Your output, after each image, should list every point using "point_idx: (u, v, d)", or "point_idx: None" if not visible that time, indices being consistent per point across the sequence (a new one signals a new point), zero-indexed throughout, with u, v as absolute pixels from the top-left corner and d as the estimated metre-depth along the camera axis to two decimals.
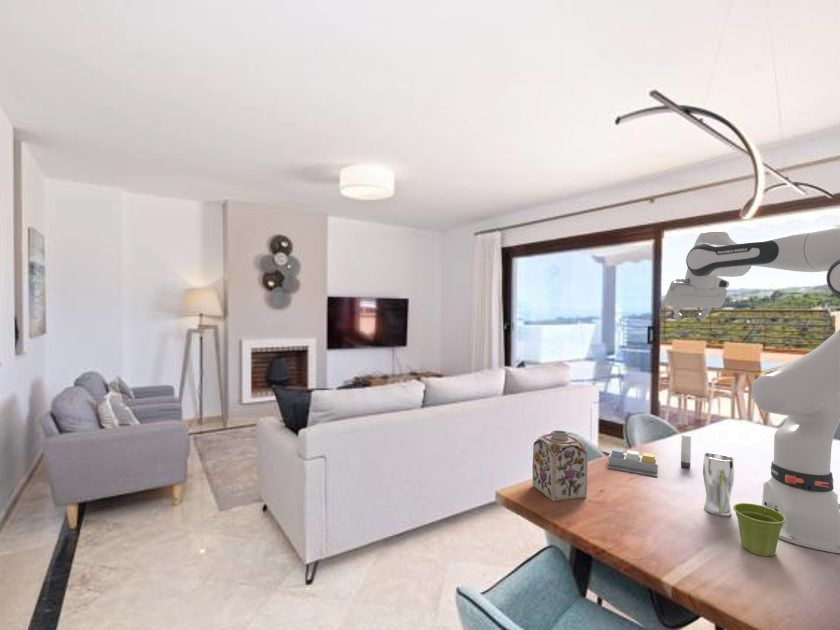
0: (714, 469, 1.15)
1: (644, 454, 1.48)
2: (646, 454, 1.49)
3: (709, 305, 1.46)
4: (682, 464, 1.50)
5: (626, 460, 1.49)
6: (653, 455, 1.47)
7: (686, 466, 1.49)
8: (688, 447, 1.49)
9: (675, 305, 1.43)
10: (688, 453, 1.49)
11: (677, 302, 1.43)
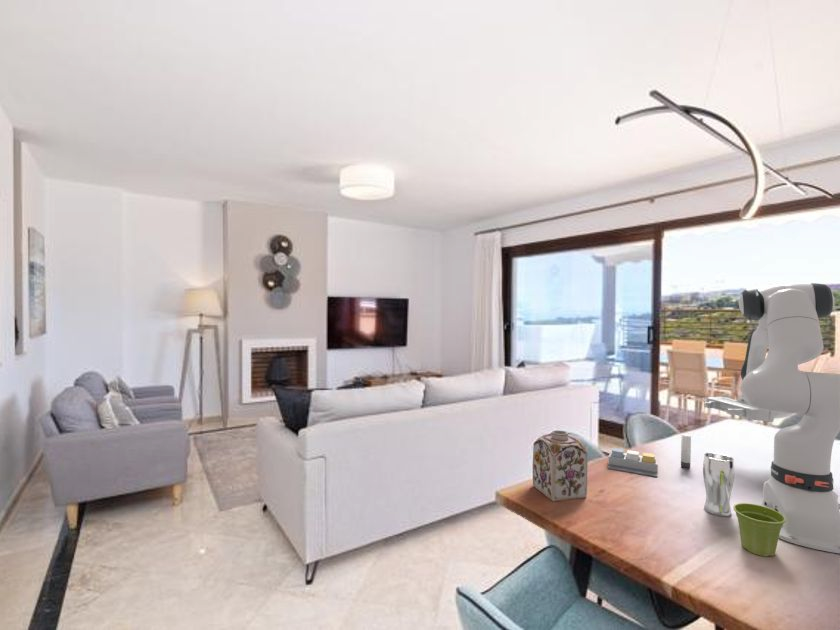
0: (714, 469, 1.15)
1: (644, 454, 1.48)
2: (646, 454, 1.49)
3: (742, 406, 1.48)
4: (682, 464, 1.50)
5: (626, 460, 1.49)
6: (653, 455, 1.47)
7: (686, 466, 1.49)
8: (688, 447, 1.49)
9: (710, 398, 1.61)
10: (688, 453, 1.49)
11: (713, 398, 1.61)
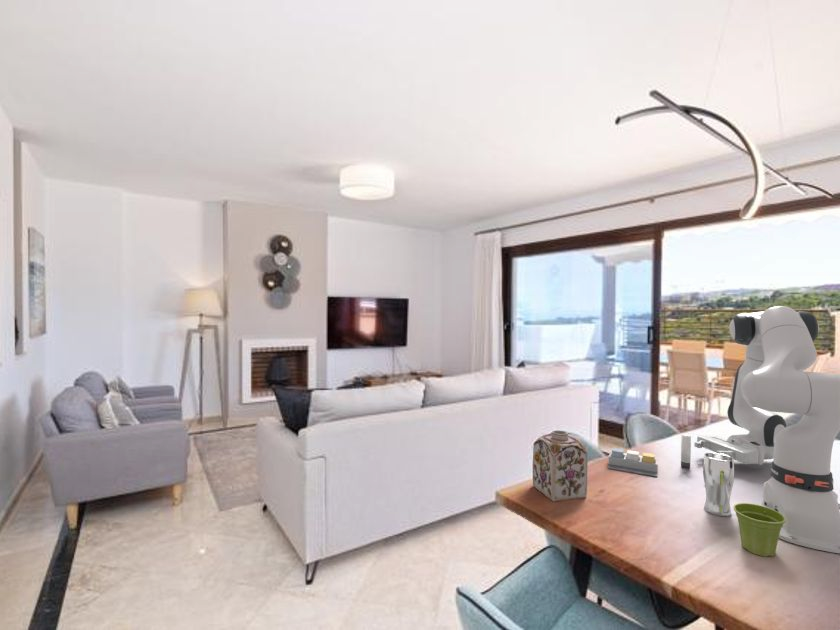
0: (714, 469, 1.15)
1: (644, 454, 1.48)
2: (646, 454, 1.49)
3: (732, 447, 1.48)
4: (682, 464, 1.50)
5: (626, 460, 1.49)
6: (653, 455, 1.47)
7: (686, 466, 1.49)
8: (688, 447, 1.49)
9: (700, 437, 1.60)
10: (688, 453, 1.49)
11: (704, 436, 1.60)
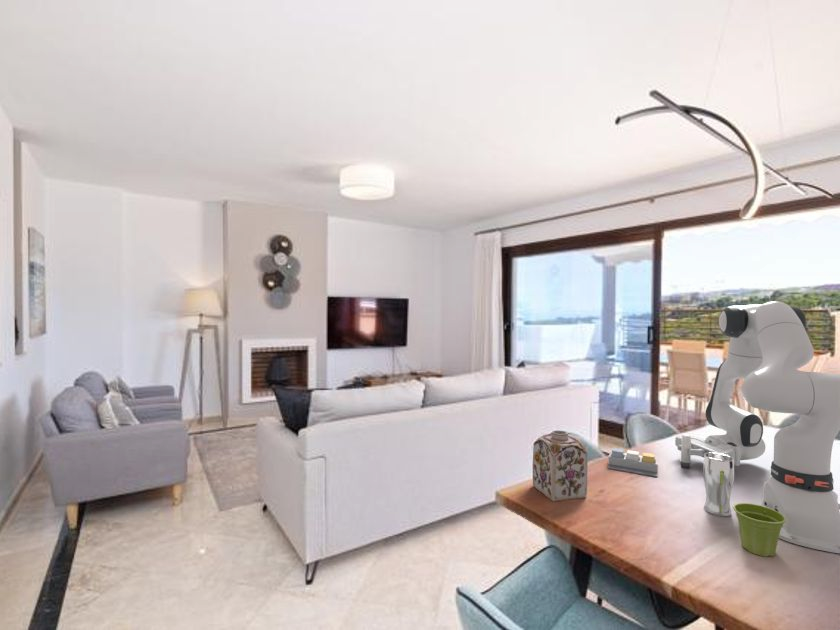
0: (714, 469, 1.15)
1: (644, 454, 1.48)
2: (646, 454, 1.49)
3: (708, 448, 1.46)
4: (682, 464, 1.50)
5: (626, 460, 1.49)
6: (653, 455, 1.47)
7: (686, 466, 1.49)
8: (688, 447, 1.49)
9: (679, 437, 1.59)
10: None
11: None
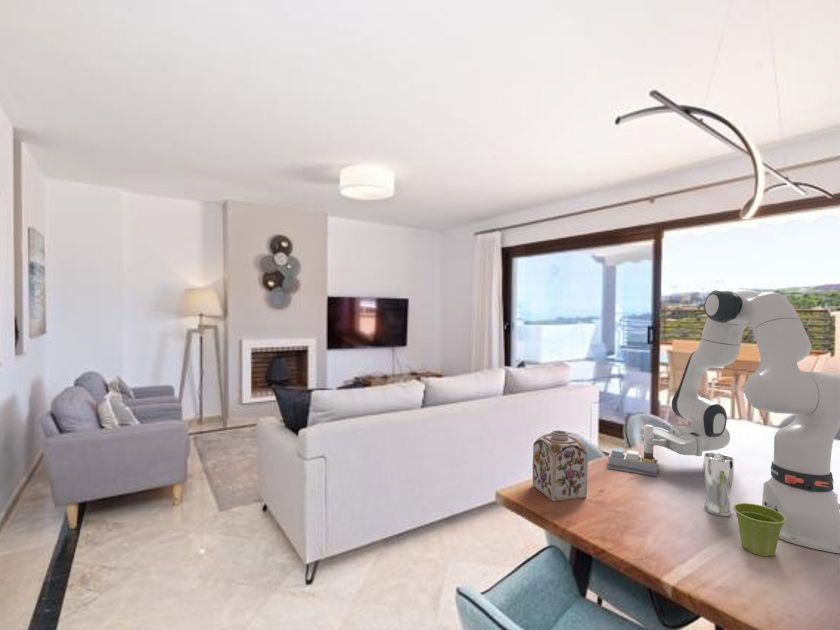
0: (714, 469, 1.15)
1: None
2: None
3: (671, 438, 1.44)
4: (645, 455, 1.48)
5: (626, 460, 1.49)
6: (653, 458, 1.47)
7: (649, 457, 1.47)
8: (651, 437, 1.46)
9: (643, 428, 1.56)
10: None
11: None
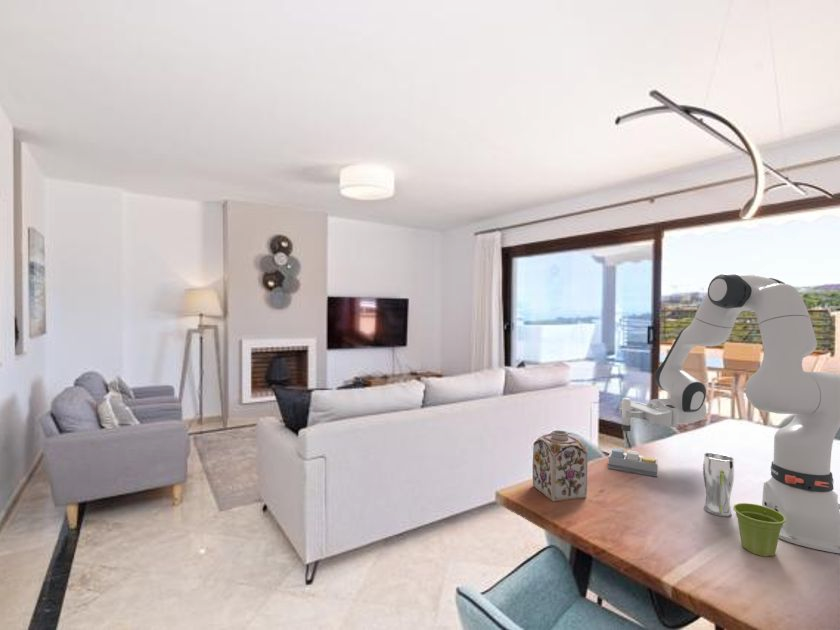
0: (714, 469, 1.15)
1: (644, 457, 1.48)
2: (646, 457, 1.49)
3: (647, 410, 1.48)
4: (622, 427, 1.51)
5: (626, 460, 1.49)
6: (653, 458, 1.47)
7: (626, 428, 1.50)
8: (628, 410, 1.50)
9: None
10: None
11: None
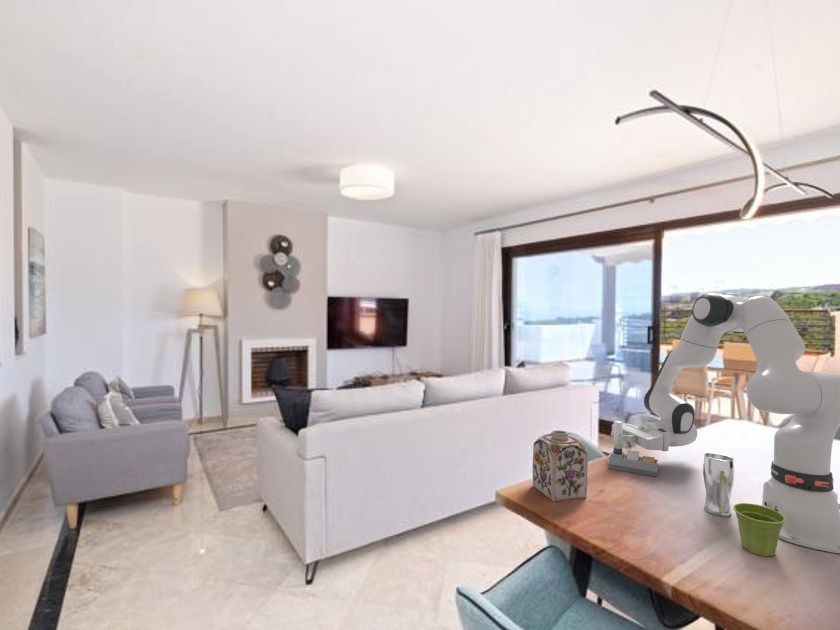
0: (714, 469, 1.15)
1: (644, 457, 1.48)
2: (646, 457, 1.49)
3: (638, 434, 1.49)
4: (614, 450, 1.52)
5: (626, 460, 1.49)
6: (653, 458, 1.47)
7: (618, 452, 1.51)
8: (619, 433, 1.51)
9: None
10: None
11: None
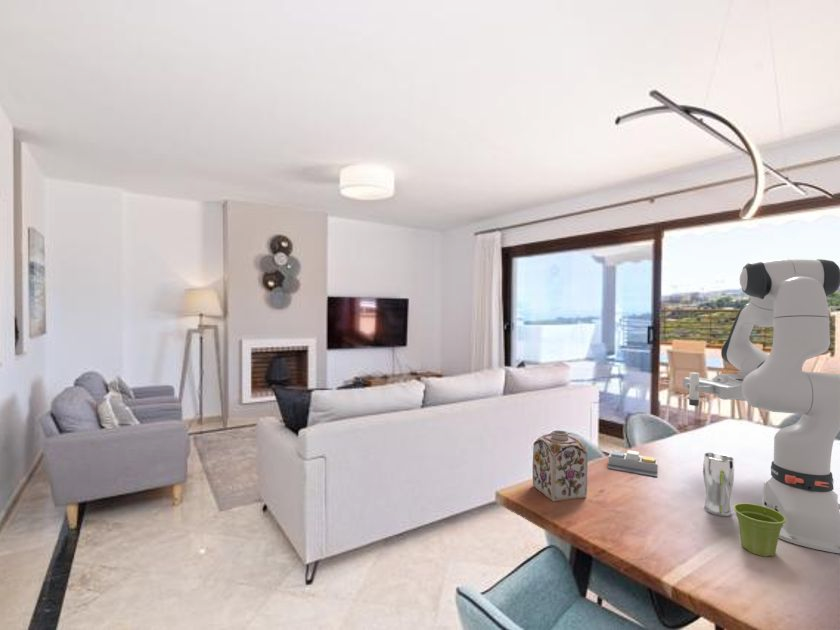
0: (714, 469, 1.15)
1: (644, 457, 1.48)
2: (646, 457, 1.49)
3: (717, 384, 1.45)
4: (690, 402, 1.49)
5: (626, 460, 1.49)
6: (653, 458, 1.47)
7: (694, 403, 1.48)
8: (696, 384, 1.47)
9: (686, 378, 1.57)
10: None
11: None
